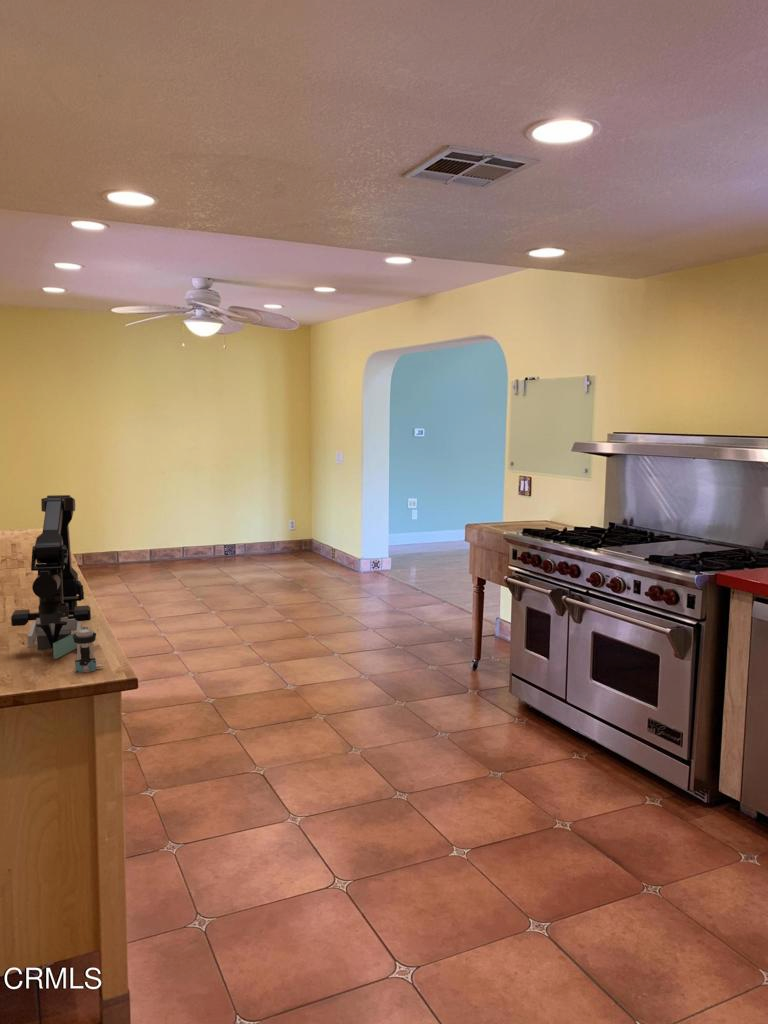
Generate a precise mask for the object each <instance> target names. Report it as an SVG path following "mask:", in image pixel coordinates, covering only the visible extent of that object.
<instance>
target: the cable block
mask: <svg viewBox="0 0 768 1024" xmlns="http://www.w3.org/2000/svg"><path fill="white" fill-rule="evenodd" d="M71 634H72V630H71V629H62V630H60V633H59V635H58V639H57V641H59V640H61V639H63V638H65V637H67V636H69V635H71ZM52 635H53V638H54V630H52ZM36 648H37V651H45V649H48V650H53V648H52V647H51V645H50V643H49V640H48V638H47V636H46V634H45V632H44V631H39V632H38V633H37V634H36Z"/></svg>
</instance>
